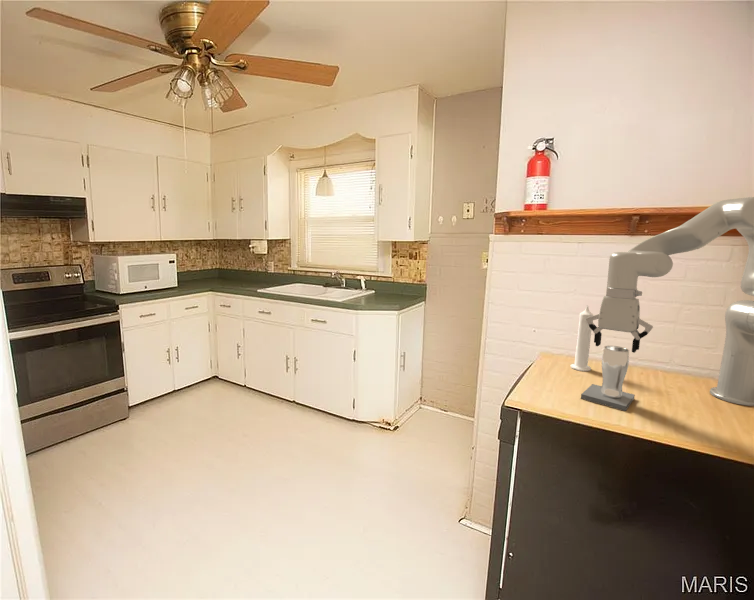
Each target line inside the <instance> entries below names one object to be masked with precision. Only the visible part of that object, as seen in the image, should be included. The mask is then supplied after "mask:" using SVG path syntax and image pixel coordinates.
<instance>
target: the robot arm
mask: <svg viewBox="0 0 754 600" xmlns="http://www.w3.org/2000/svg"><path fill="white" fill-rule="evenodd" d="M734 229H735V230H736V231H738V233H739V234H741V236H742V237H743V238H744V239H745V241H746V243H747V246H748V254H747V258H746V262H745V265H744V269H743V273H742V276H741V279H740V280H741V281H740V289H741V292H743V294H745V295H748V296H752V297H754V196H751V197H750V196H749V197H739V198H730V199H724V200H720V201H718V202H715V203H713V204H712V205H711V206H709V207H707V208H706V209H704V210H702V211H701V212H700V213H698V214H696V215H695V216H694V217H692V218H691V219H688V220H687V221H685V222H684V223H682V224H681V225H679V226H676V227H674V228H671V229H669V230H666V231H664V232H662V233H659V234H656V235H655V236H654V235H653V236H652V237H650V238H647V239H645V240H643V241H642V242H640V243H638V244H637V245H635V246H634V247H632V248H631V249H630V250H628V251H626V252H625V251H624V252H623V251H621V252H620V251H617V252H613V253H611V254H610V255H609V258H608V260H609V261H608V272H607V281H606V293H605V296H603V298H602V301H601V305H600V308H599V309H600V310H599V314H596V315H593V316H592V317H588V318H587V319H586V320H587V323H588V324H589V327H590V328H591V329H592V330H591V331H592V332H593V334H594V337H593V342H594V343H595V347H599V346H601V343H602V332H601V331H602V330H609V331H615V332H624V333H630V334H631V335H632V336H633V338H632V339H633V340H632V345H631V353H632V354H635V353H636V352H637V351H639V350H640V344H641V339H642V338H645V337H646V336H648V334H650V333H651V331H652V329H654V325H653V324H650V323H648V322H647V321H645V320H643V319H641V318H640V317H641V315H640V314H641V310H640V309H641V308H640V300H639V298H637V297H639V296H643V291H640V290H638V280H639V279H638V277H647V278H660V277H663V276H665V275H666V276H667V274H669V273H670V272H671V270H672V269H673V265H674V262H673V259H672V258H671V257H670V256H671V255H677V254H682V253H687V252H692V251H696V250H699V249H701V248H704V247H705V246H706V245H708V244H710V243H711V242H713V241H714V240H716V239H717V238H720V236H722V235H725V233H727V232H728V231H731V230H734ZM595 320H597V321H598V322H597V324H598V326H597V325H595V323H594V321H595ZM724 321H725V337H724V338H725V339H724V344H723V345H724V346H723V351H722V357H721V362H720V369H719V374H718V379H717V384H716V385H717V386H714V387H711V388H710V389H709V393H710V395H712V396H713V397H715V398H716V399H720V400H722V401H725V402H728V403H732V404H737V405H740V406H748V407H754V300H751V299H750V300H749V299H746V300H745V299H743V300H737V301H733V302H732V303H731V304H730V305H729V306H727V308H726V310H725V313H724ZM640 326H641V327H644V328H645V329H644V330H643V331H642V332H640V331H639V327H640Z"/></svg>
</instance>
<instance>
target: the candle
mask: <svg viewBox="0 0 754 600" xmlns="http://www.w3.org/2000/svg"><path fill="white" fill-rule="evenodd" d="M592 316H594V314H593V313H592V312H591V311H590V309H589V305H586V306H585V309H584V310H582V311H581V312H579V319H578V327H577V337H576V346H575V347H576V348H575V356H574V363H571V364H570V368H571V369H572V370H576V371H578V372H590V371H591V370H592V367H591V366H589V365H588V363H589V357H590V347H591V337H592V331H593V330H592V329H591V328H590V327H589V324H588V323H587V320H586V319H587V318H588V317H592Z"/></svg>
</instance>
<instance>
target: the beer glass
mask: <svg viewBox="0 0 754 600" xmlns="http://www.w3.org/2000/svg"><path fill="white" fill-rule="evenodd" d="M629 361H630V349H629V348H626V347H622V346H617V345H605V346H604V347H603V353H602V358H601V372H602V373H601V374H602V383H601V384H602V385H601V386H602V387H601V390H600V393H601V394H602V395H604V396H606V397H610V398H622V397H623V393H622V392H623V384H624V381H625V378H626V375H627V372H628V370H629V365H630V364H629Z"/></svg>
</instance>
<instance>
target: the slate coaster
mask: <svg viewBox="0 0 754 600" xmlns="http://www.w3.org/2000/svg"><path fill="white" fill-rule="evenodd" d="M601 387H602V385H598V384H594V383H592V384H591V385H590V386H589V387H587V388H586V389H585V390H584V391H583V392H582V393H580V394H581V395H580V399H581V400H584V401H588V402H590V403H591V402H592V403H596V404H599V405H602V406H607V407H609V408H612V409H617V410H619V411H624V412H626V411H627V410H628V409H629V407H630V405H631V404H632V402H634V400H635V396H636V395H635V394H633V393H630V392H626V391H622V393H623V397H622V398H610V397H606V396H604V395H602V394H601V393H600V390H601Z"/></svg>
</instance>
